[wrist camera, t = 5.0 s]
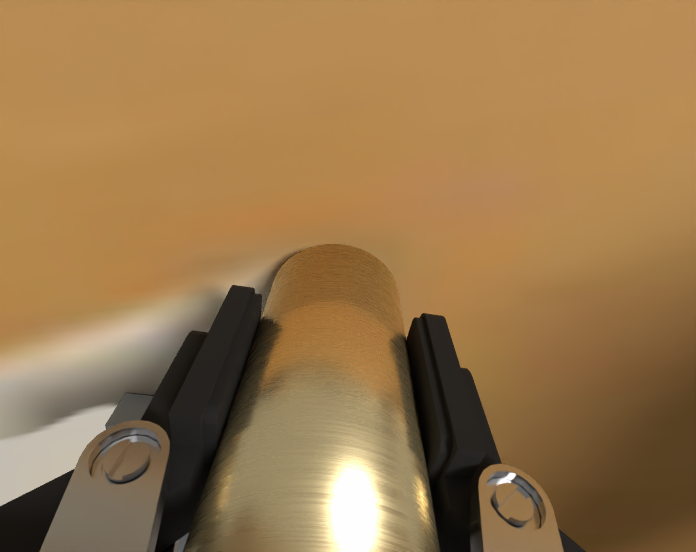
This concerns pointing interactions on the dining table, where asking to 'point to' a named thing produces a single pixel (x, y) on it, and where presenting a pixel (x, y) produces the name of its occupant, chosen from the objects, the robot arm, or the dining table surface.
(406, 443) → the gold rounded cylinder
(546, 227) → the dining table surface
